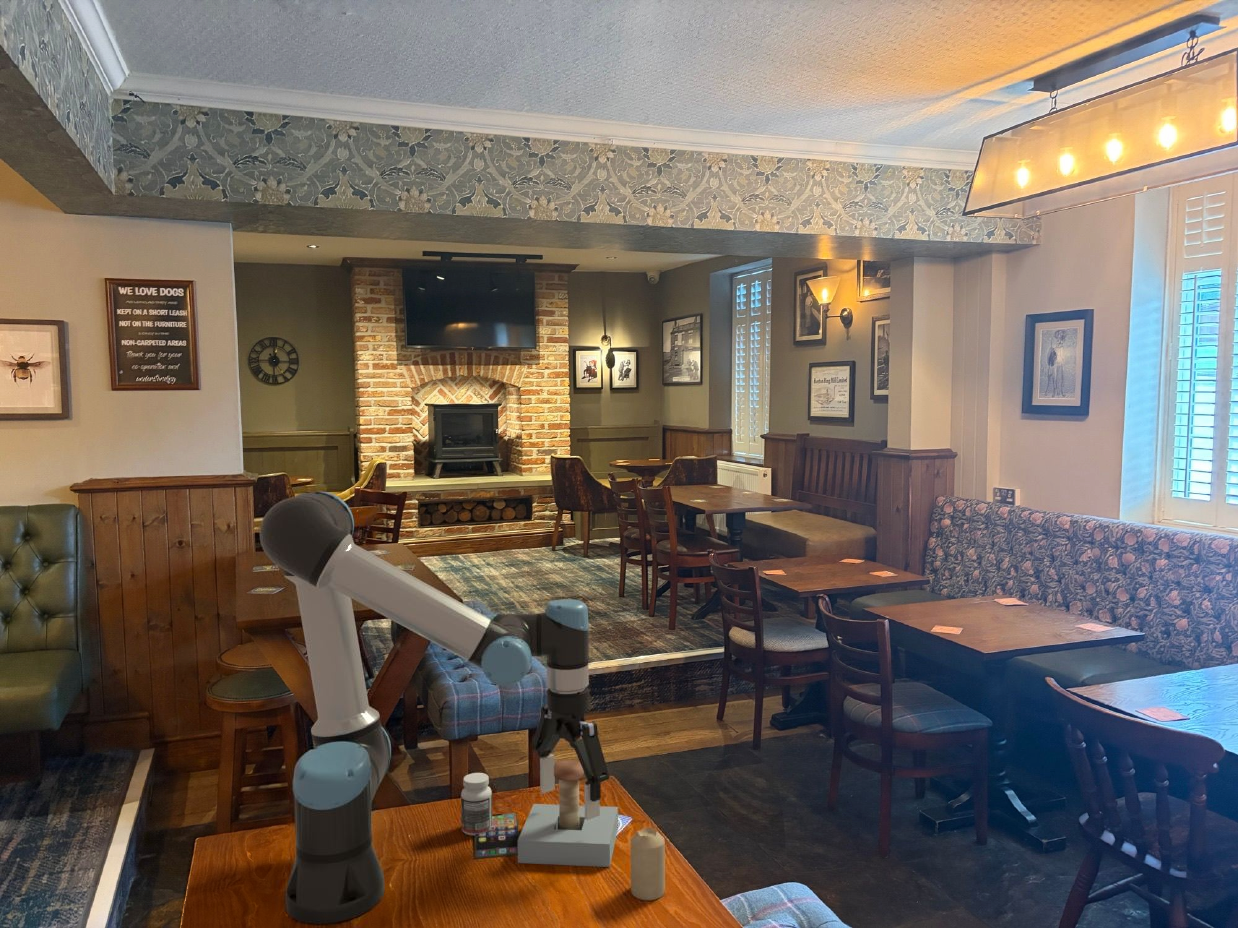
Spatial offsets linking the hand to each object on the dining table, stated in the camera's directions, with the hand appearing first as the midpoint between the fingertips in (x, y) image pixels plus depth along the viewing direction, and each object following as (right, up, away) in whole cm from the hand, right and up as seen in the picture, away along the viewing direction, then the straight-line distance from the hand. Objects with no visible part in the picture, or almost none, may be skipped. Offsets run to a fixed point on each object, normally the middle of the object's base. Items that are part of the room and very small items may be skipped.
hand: (569, 803), depth 155 cm
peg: (0, -8, 0) cm, 8 cm away
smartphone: (-14, -8, +4) cm, 16 cm away
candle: (+14, -9, -15) cm, 22 cm away
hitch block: (0, -8, 0) cm, 8 cm away
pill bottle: (-18, -8, +6) cm, 20 cm away
